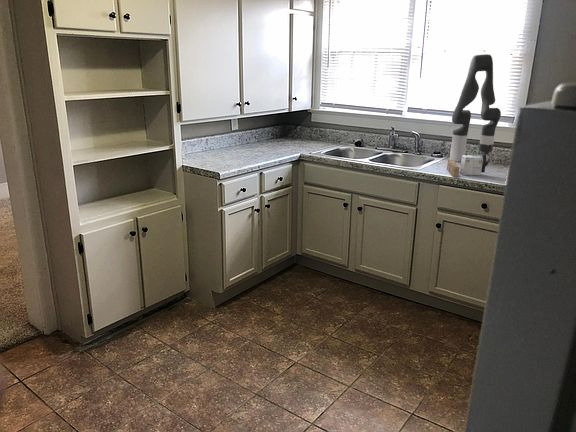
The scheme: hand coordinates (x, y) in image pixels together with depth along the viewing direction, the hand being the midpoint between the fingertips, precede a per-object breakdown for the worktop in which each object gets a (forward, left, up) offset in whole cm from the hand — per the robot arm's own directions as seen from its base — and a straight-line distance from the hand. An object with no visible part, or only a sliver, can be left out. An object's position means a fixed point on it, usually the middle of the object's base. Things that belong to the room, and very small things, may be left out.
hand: (482, 172), depth 283 cm
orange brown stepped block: (0, -17, -2) cm, 17 cm away
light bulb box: (0, -7, -2) cm, 7 cm away
